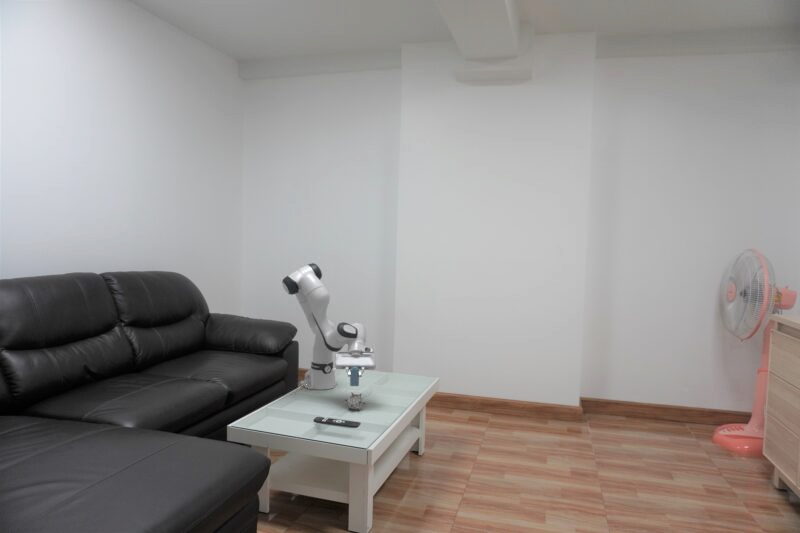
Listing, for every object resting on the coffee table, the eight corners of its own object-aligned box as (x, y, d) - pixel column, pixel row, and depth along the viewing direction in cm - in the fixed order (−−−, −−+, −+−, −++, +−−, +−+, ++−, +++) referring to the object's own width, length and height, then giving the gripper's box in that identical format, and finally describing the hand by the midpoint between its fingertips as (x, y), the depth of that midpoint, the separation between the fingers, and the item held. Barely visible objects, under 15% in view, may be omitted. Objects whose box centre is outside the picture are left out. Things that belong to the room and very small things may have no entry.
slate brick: (350, 383, 270) (351, 366, 270) (358, 384, 270) (359, 366, 270) (350, 386, 266) (350, 368, 266) (358, 386, 266) (358, 368, 266)
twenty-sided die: (358, 416, 270) (370, 400, 271) (351, 415, 263) (364, 398, 264) (345, 405, 274) (358, 388, 275) (339, 403, 267) (351, 386, 267)
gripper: (335, 348, 274) (332, 372, 265) (376, 349, 275) (375, 373, 265) (336, 355, 279) (333, 379, 270) (376, 356, 279) (375, 379, 270)
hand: (354, 376), depth 267 cm, fingers closed on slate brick, 4 cm apart
